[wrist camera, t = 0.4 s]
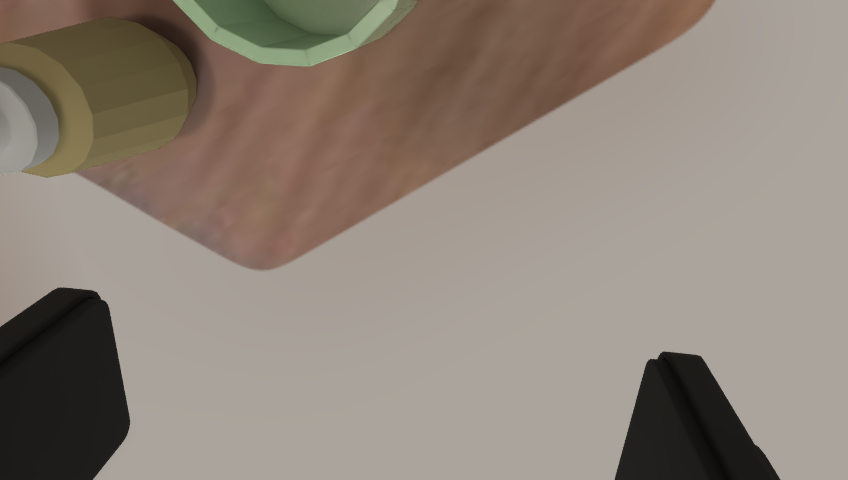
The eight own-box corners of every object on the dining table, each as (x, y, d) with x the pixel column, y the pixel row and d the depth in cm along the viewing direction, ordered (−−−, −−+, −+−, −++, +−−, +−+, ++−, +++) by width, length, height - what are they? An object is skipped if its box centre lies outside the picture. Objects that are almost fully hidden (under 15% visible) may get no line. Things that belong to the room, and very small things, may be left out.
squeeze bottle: (204, 14, 36) (-28, 33, 20) (222, 140, 39) (36, 246, 23) (84, 14, 37) (-237, 31, 20) (112, 137, 40) (-146, 238, 24)
